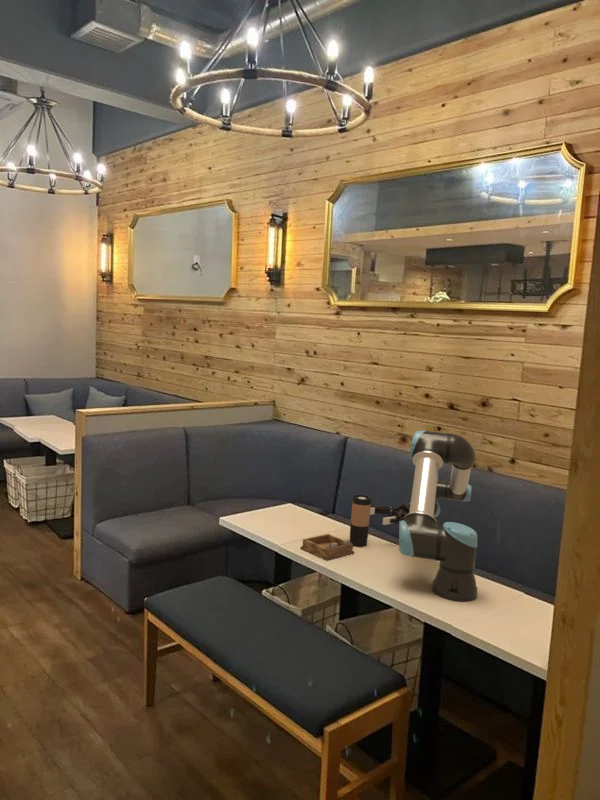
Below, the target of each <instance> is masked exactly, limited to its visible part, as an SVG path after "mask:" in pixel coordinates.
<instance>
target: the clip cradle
mask: <svg viewBox="0 0 600 800" xmlns="http://www.w3.org/2000/svg"><path fill="white" fill-rule="evenodd" d="M353 548H354V546H353V544H352V543H350V539H342V538H339V537H338V536H334V535H332V534H329V533H326V534H322V535H315V536H312V537H311V536H310V537H308V538H304V539H303V538H302V545H301V546H300V550H302V551H304V552H307V553H308V552H309V554H311V555H312V556H315V557H317V558H319V559H321V558H322V559H321V560H324V561H326V562H327V561H331V560H336V559H340V558H344V557H347V555H348V556H352V555H354V554H355V551H354V549H353ZM351 554H352V555H351ZM343 556H344V557H343ZM335 558H336V559H335Z"/></svg>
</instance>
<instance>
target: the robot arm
mask: <svg viewBox="0 0 600 800" xmlns="http://www.w3.org/2000/svg"><path fill="white" fill-rule="evenodd" d="M476 457H477V455H476V450H475V449H474V447H473V445H472V444H471V443H470V441H468V439H466V438H465V437H463V436H462V435H459V434H456V433H448V432H438V431H429V430H417V431H415V432H414V434H413V436H412V440H411V443H410V449H409V458H410V459H411V460H412V463H413V465H414V466H415V468H414V475H413V484H412V490H411V498H410V502H408V503H402V504H400V506H398V507H394V506H392V505H388V506H386V505H371V507H370V516H371V515H372V516H373V515H375V514H379V515H388V516H389V517H388V516H387V517H382V525H383V526H386V525H391V524H398V528H399V529H398V533H399V534H398V537H399V538H398V545H399V546H398V548H399V549H398V550H399V552H400V554H401V555H403V556H408V557H411V558H419V559H427V560H433V561H437V562H439V567H438V569H437V572H436V574H435V578H434V579H433V580H432V584H431V591H433V593H435V594H436V595H438V597H441V598H445V599H448V600H452V601H456V602H458V601H459V602H468V601H469V602H470V601H473V600H475V599H477V597H478V587H477V582H476V577H475V566H476V555H477V548H478V533H477V531H475V529H473V528H472V527H470V526H467V525H465V524H462V523H458V522H454V521H446V522H444V523H443V524H442V526H441V525H438V521H437V519H436V518H437V517H438V516H439V515H440V514H441V507H440V503H439V502H438V501H437V499H444V500H449V501H450V500H452V501H457V502H458V501H459V502H470V501H471V499H472V498H471V497H472V489H473V487H472V485H470V484H469V482H470V476H471V470H472V468H473V467H474V465H475V463H476V459H477V458H476ZM444 464H449V465H450V464H451V472H450V481H445V480H439V477H438V476H439V470H440V469H441V468H442V467H443V465H444Z"/></svg>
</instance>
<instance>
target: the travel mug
mask: <svg viewBox="0 0 600 800" xmlns="http://www.w3.org/2000/svg"><path fill="white" fill-rule="evenodd" d="M351 502H352V505H351V515H350V526H349V527H350V530H349V540H350V543H352V544H353V547H355V546H356V548H364V546H365V547H366V546H367V544H368V537H369V529H370V519H371V515H370V508H371V506H372V498H371V497H369V495H367V494H354V495H353V496H352V501H351Z"/></svg>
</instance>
